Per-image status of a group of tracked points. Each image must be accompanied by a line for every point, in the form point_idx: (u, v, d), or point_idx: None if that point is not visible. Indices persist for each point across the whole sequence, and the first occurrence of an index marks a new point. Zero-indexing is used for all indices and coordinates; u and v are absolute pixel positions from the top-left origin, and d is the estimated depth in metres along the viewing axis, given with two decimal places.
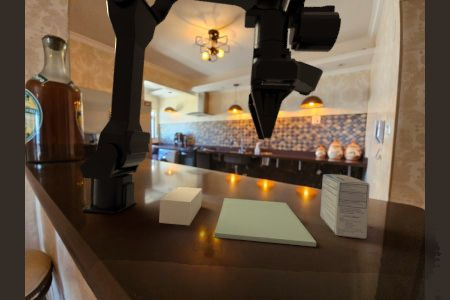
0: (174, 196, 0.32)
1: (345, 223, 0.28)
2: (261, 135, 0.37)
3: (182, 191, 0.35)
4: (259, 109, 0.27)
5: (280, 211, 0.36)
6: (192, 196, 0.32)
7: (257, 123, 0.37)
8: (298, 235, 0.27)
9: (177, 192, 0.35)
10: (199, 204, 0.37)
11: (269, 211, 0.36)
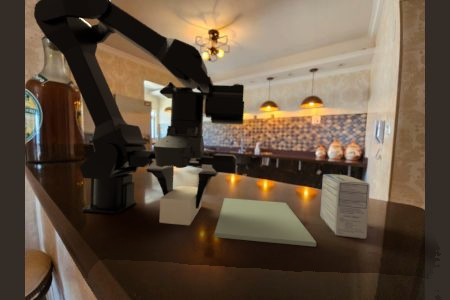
0: (174, 195, 0.32)
1: (345, 223, 0.28)
2: None
3: (182, 190, 0.35)
4: None
5: (280, 211, 0.36)
6: (193, 195, 0.32)
7: None
8: (298, 235, 0.27)
9: (177, 190, 0.35)
10: None
11: (269, 211, 0.36)
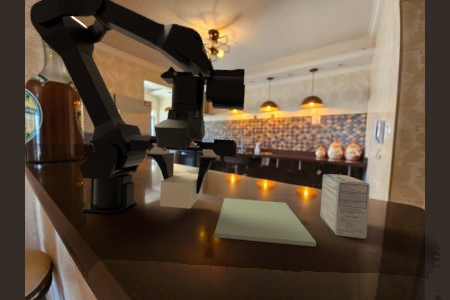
0: (175, 179, 0.32)
1: (345, 223, 0.28)
2: None
3: (183, 176, 0.35)
4: None
5: (280, 211, 0.36)
6: (193, 180, 0.32)
7: None
8: (298, 235, 0.27)
9: (177, 176, 0.35)
10: None
11: (269, 211, 0.36)
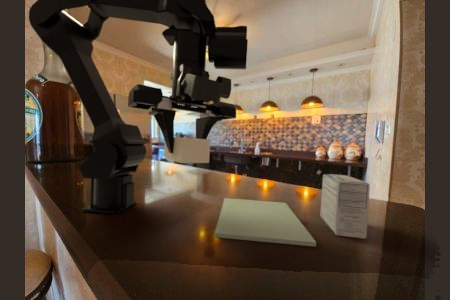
0: None
1: (345, 223, 0.28)
2: None
3: None
4: (161, 129, 0.33)
5: (280, 211, 0.36)
6: None
7: (197, 136, 0.36)
8: (298, 235, 0.27)
9: None
10: None
11: (269, 211, 0.36)
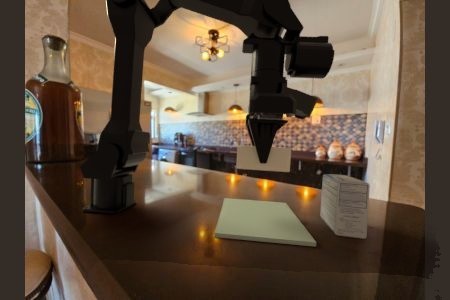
0: (275, 147, 0.33)
1: (345, 223, 0.28)
2: None
3: None
4: (256, 138, 0.30)
5: (280, 211, 0.36)
6: None
7: None
8: (298, 235, 0.27)
9: None
10: None
11: (269, 211, 0.36)
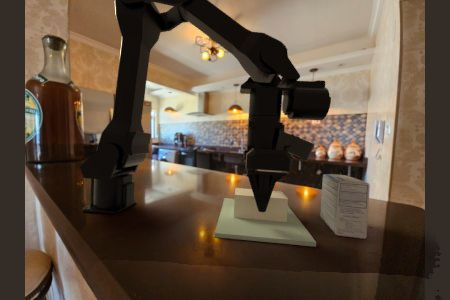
0: (272, 195, 0.33)
1: (345, 223, 0.28)
2: None
3: None
4: (254, 188, 0.28)
5: None
6: None
7: None
8: (298, 235, 0.27)
9: None
10: None
11: None
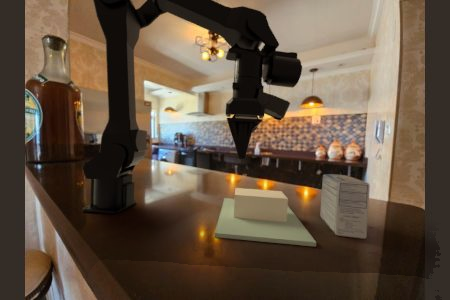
0: (272, 195, 0.33)
1: (345, 223, 0.28)
2: None
3: (253, 193, 0.34)
4: (234, 136, 0.33)
5: None
6: (266, 190, 0.36)
7: None
8: (298, 235, 0.27)
9: (257, 194, 0.33)
10: None
11: None
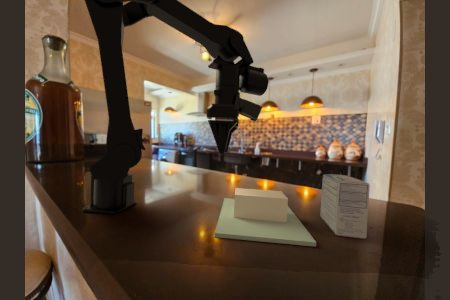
0: (272, 195, 0.33)
1: (345, 223, 0.28)
2: None
3: (253, 193, 0.34)
4: (215, 135, 0.39)
5: None
6: (266, 190, 0.36)
7: None
8: (298, 235, 0.27)
9: (257, 194, 0.33)
10: None
11: None
